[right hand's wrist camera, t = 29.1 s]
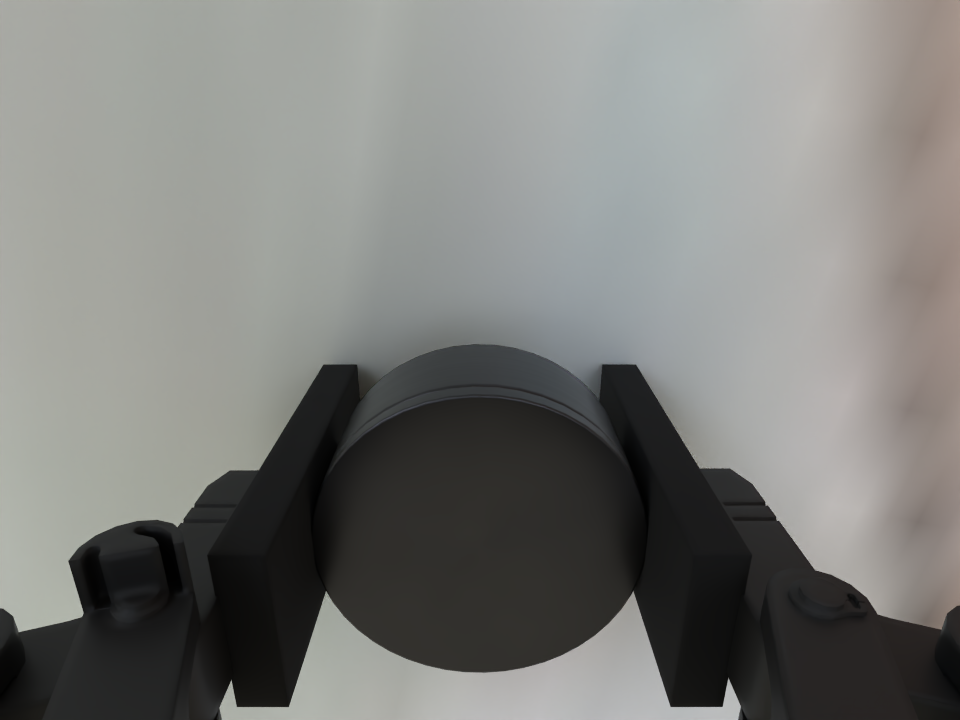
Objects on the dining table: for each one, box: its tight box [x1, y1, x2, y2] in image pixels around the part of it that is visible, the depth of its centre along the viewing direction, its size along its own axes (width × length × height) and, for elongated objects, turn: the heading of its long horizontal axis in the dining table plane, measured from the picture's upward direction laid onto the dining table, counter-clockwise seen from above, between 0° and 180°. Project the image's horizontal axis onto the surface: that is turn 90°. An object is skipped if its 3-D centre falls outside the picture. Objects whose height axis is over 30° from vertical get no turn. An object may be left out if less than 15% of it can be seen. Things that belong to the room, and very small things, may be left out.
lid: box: [311, 344, 648, 673], centre depth 12 cm, size 6×6×2 cm
